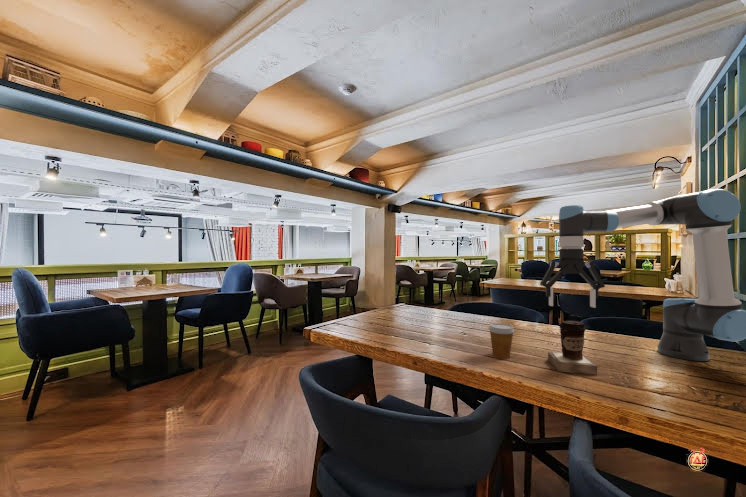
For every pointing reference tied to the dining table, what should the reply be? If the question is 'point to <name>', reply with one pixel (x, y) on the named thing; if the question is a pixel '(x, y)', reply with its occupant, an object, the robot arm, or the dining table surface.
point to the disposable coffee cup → (501, 340)
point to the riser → (572, 364)
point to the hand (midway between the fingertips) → (571, 306)
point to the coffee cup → (572, 339)
